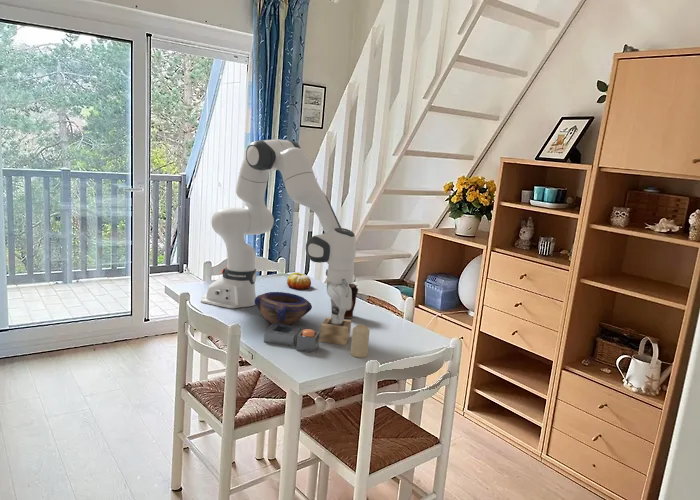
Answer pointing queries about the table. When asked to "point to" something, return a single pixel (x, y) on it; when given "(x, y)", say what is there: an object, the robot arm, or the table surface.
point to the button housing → (307, 342)
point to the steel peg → (335, 317)
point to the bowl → (282, 307)
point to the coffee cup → (354, 293)
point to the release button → (308, 333)
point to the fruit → (298, 281)
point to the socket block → (282, 334)
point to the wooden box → (335, 332)
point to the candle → (360, 341)
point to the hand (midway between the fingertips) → (337, 314)
